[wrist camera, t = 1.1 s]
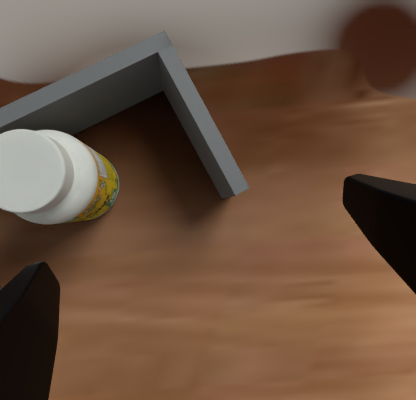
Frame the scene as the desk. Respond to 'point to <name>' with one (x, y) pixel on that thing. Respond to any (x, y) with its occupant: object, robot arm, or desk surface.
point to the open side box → (129, 104)
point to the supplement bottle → (54, 177)
